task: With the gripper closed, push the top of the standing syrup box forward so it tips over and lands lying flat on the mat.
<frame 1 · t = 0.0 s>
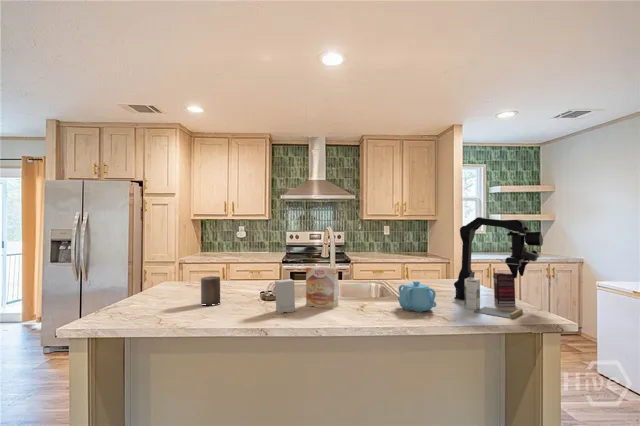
hand: (518, 277, 181), 15 cm above the countertop, tool pointing down, fingers open, 9 cm apart
decorative pot: (416, 310, 177), on the countertop
coffeecake box: (322, 306, 185), on the countertop
pillar candle: (210, 304, 191), on the countertop
skincare box: (285, 312, 175), on the countertop
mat: (497, 312, 170), on the countertop
supplement box: (504, 305, 185), on the countertop
syrup box: (472, 308, 179), on the countertop
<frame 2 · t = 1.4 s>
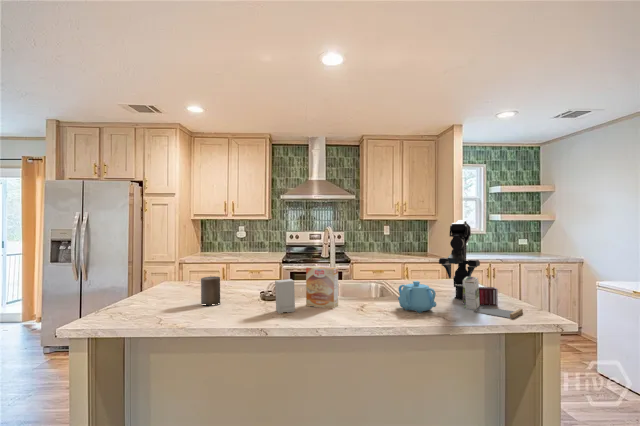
hand: (459, 279, 184), 13 cm above the countertop, tool pointing down, fingers open, 9 cm apart
supplement box: (496, 296, 186), point 4 cm above the countertop
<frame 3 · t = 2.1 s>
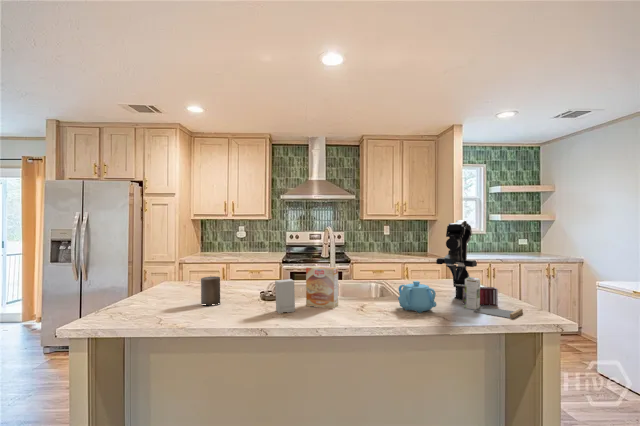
hand: (456, 279, 185), 13 cm above the countertop, tool pointing down, fingers closed
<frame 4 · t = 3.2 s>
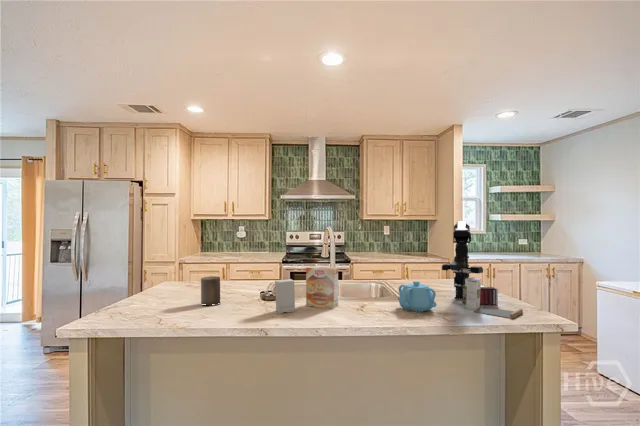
hand: (462, 285, 182), 10 cm above the countertop, tool pointing down, fingers closed
syrup box: (472, 308, 179), on the countertop, touching gripper
everything else where it was.
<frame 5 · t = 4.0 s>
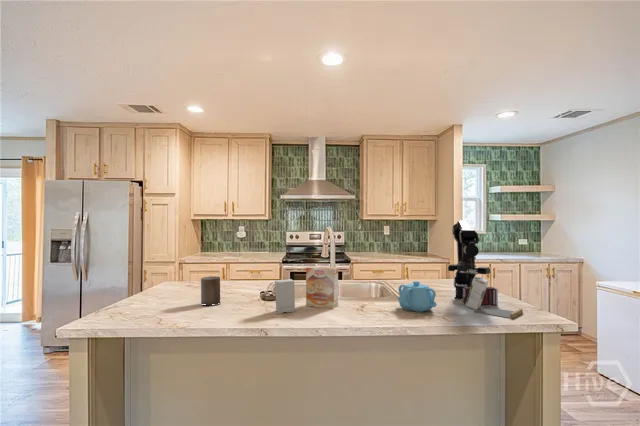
hand: (468, 286, 180), 10 cm above the countertop, tool pointing down, fingers closed
syrup box: (472, 307, 179), point 1 cm above the countertop
everything else where it was.
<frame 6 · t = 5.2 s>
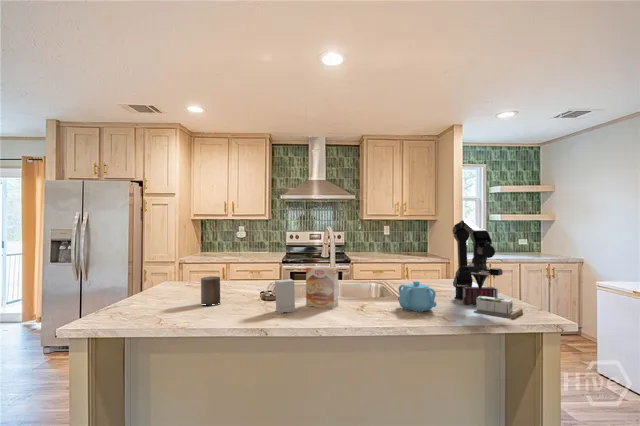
hand: (480, 288, 176), 10 cm above the countertop, tool pointing down, fingers closed
syrup box: (477, 302, 177), point 3 cm above the countertop, touching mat
everything else where it was.
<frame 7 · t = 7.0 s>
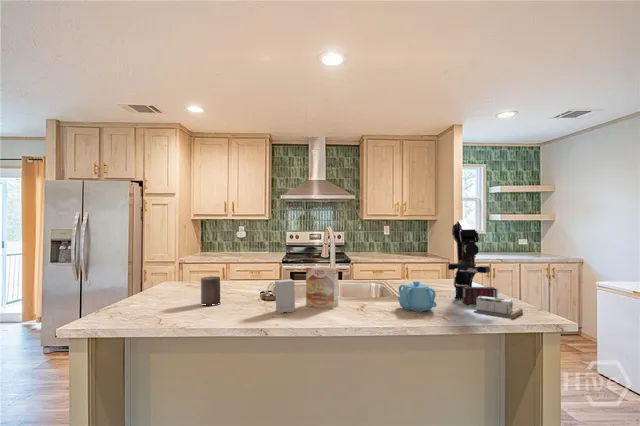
hand: (468, 285, 181), 11 cm above the countertop, tool pointing down, fingers closed
nothing on the countertop moved.
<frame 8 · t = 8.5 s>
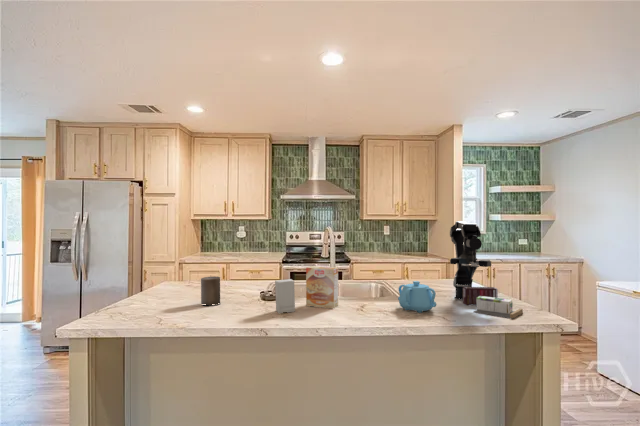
hand: (470, 279, 185), 13 cm above the countertop, tool pointing down, fingers closed
nothing on the countertop moved.
at the end: syrup box tilted 89°; syrup box inside the target area (5.1 cm from its centre), point 3.0 cm above the countertop; the gripper is holding nothing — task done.
